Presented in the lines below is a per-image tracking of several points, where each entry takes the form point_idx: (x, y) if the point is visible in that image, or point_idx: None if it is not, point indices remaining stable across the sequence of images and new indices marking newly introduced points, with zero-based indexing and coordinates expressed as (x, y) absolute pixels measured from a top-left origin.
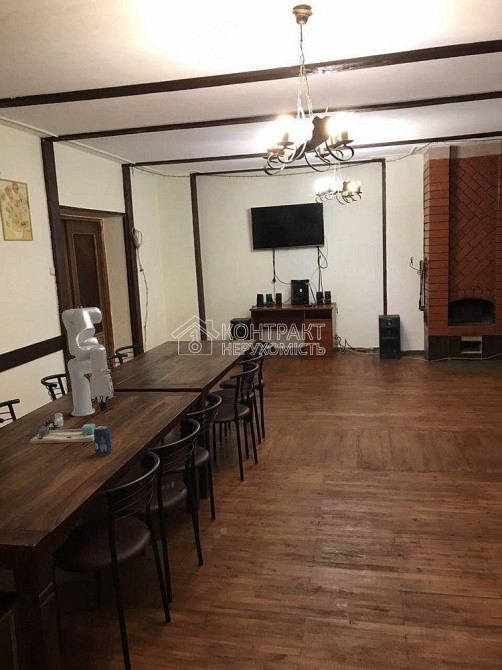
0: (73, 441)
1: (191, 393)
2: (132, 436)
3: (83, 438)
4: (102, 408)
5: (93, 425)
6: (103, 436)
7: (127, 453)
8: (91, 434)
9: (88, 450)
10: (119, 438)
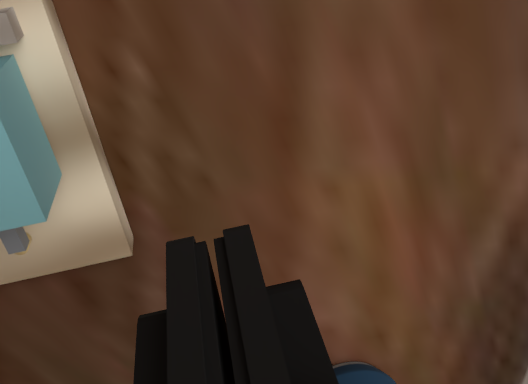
0: None
1: None
2: (478, 78)
3: (37, 273)
4: (230, 356)
5: (17, 157)
6: None
7: (489, 365)
8: None
9: None
10: (364, 141)
